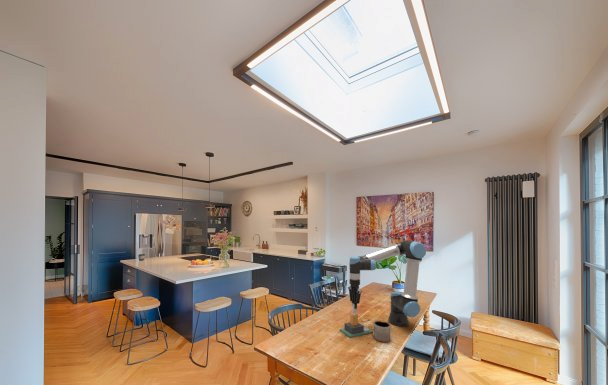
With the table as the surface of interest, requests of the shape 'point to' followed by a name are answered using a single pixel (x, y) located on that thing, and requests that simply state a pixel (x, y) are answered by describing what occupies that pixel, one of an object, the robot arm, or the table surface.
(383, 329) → the planter
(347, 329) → the board
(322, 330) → the table surface
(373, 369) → the table surface
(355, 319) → the plug
